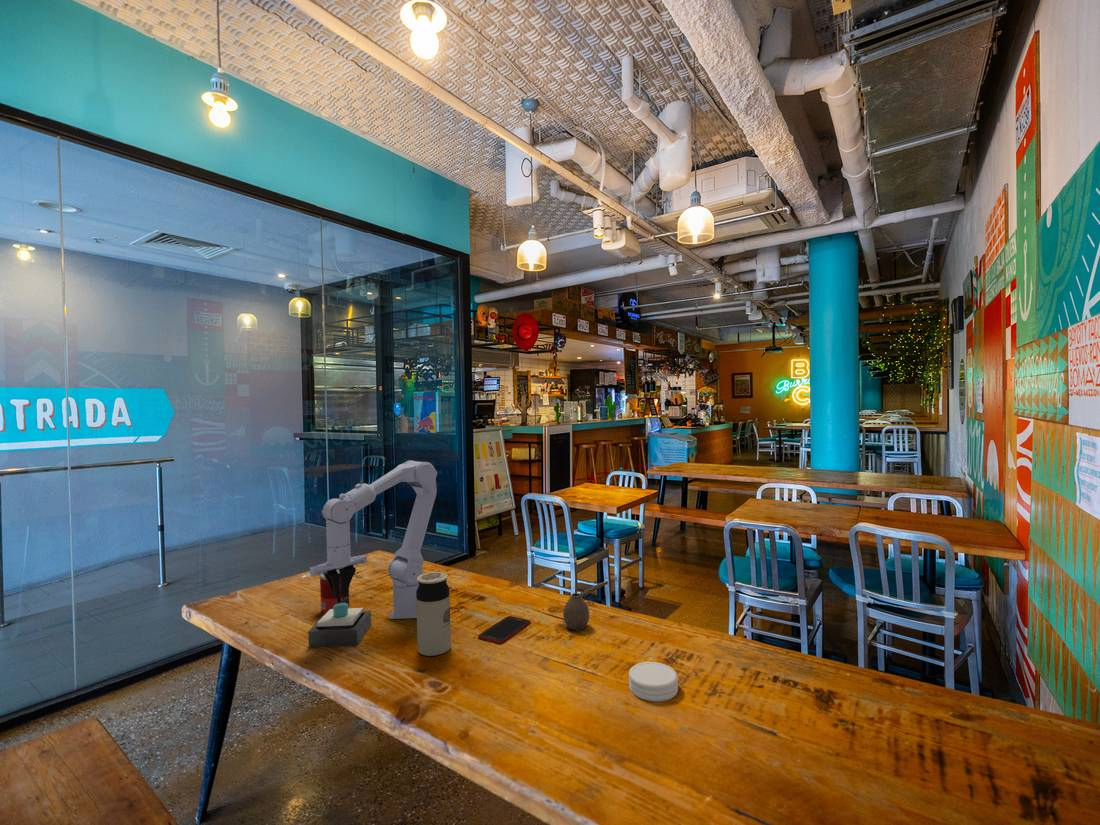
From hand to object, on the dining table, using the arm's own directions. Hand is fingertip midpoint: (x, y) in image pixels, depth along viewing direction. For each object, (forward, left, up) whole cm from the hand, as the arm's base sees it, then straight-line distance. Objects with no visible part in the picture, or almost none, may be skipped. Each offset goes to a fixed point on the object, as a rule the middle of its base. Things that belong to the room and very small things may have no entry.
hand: (340, 596), depth 137 cm
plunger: (0, 0, -6) cm, 6 cm away
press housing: (0, 0, -10) cm, 10 cm away
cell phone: (-43, +1, -11) cm, 44 cm away
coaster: (-75, +32, -11) cm, 82 cm away
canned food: (+8, -18, -11) cm, 22 cm away
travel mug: (-26, +10, -11) cm, 30 cm away
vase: (-62, +1, -11) cm, 63 cm away
